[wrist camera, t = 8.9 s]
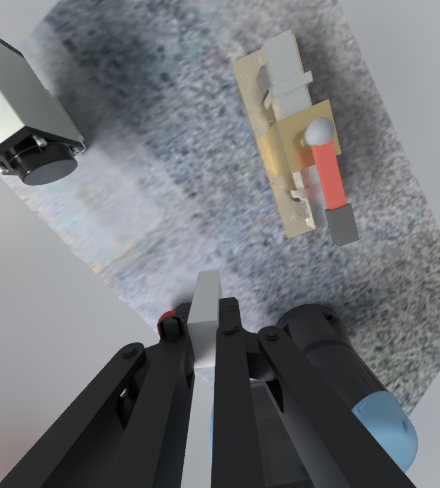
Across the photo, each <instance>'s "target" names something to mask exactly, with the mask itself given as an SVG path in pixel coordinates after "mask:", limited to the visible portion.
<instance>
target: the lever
mask: <svg viewBox="0 0 440 488" xmlns="http://www.w3.org/2000/svg"><path fill="white" fill-rule="evenodd" d="M334 131H335V128H334V124H333V122H332V121H331V120H330V119H329V118H326V117H320V118H317V119H316V120H314V121H313V122H311V123H310V124H309V125H308V126H307V127H306V129H305V131H304V140H305V143H306V144H307V145H308V146H310V147H311V148H312V152H313V156H314V160H315V164H316V167H317V171H318V175H319V179H320V183H321V186H322V190H323V194H324V198H325V202H326V205H327V209H326V210H324V211H325V214H326V218H327V222H328V226H329V229H330V233H331V237H332V241H333V243H334V244H336V245H338V246H343V245H346V244H348V243H351V242H354V241H357V240H359V236H358V232H357V228H356V223H355V219H354V215H353V211H352V206H351V204H348V203H347V201H346V197H345V193H344V189H343V184H342V180H341V176H340V172H339V168H338V163H337V159H336V155H335V151H334V147H333V142H332V137H333V135H334Z"/></svg>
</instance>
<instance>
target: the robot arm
mask: <svg viewBox="0 0 440 488" xmlns="http://www.w3.org/2000/svg"><path fill="white" fill-rule="evenodd" d="M157 326H158V330H159V334H160V338H161V339H160V341H159V343H158V344H156V345H153V346H150V347H147V348H144V345H143V344H142V343H138V342H137V343H131V344H128V345H126V346H124V347H123V348H121V349H120V350H119V351H118V352H117V353H116V354H115V355H114V357H113V358H112V359H111V360H110V361H109V362H108V363H107V364H106V366H105V367H104V368H103V369H102V370H101V371H100V372H99V373H98V374H97V376H96V377H95V378H94V379H93V380H92V381H91V382H90V383H89V384H88V386H87V387H86V388H85V389H84V390H83V391H82V392H81V393H80V394H79V396H78V397H77V398H76V399H75V400H74V401H73V402H72V403H71V404H70V406H69V407H68V408H67V409H66V410H65V411H64V412H63V413H62V414H61V416H60V417H59V418H58V419H57V420H56V421H55V422H54V423H53V424H52V426H51V427H50V428H49V429H48V430H47V431H46V432H45V433H44V435H43V436H42V437H41V438H40V439H39V440H38V441H37V442H36V444H35V445H34V446H33V447H32V448H31V449H30V450H29V451H28V452H27V454H26V455H25V456H24V457H23V458H22V459H21V460H20V461H19V463H17V465H16V466H15V467H14V468H13V469H12V471H10V472H9V473H8V475H7V476H6V477H5V478H4V479H3V480H2V481H1V482H0V488H180V487H181V480H182V472H183V464H184V457H185V449H186V441H187V433H188V426H189V418H190V410H191V403H192V395H193V387H194V379H195V373H194V368H193V367H194V361H195V366H196V368H203V367H212V366H215V383H214V403H213V408H212V414H211V423H210V461H211V465H212V470H211V471H212V472H211V488H416V487H415V485H414V484H413V483H412V482H411V481H410V479H409V478H408V477H407V476H406V475H405V472H406V471H407V470H408V469H409V468H410V466H411V465H412V463H413V461H414V459H415V457H416V453H417V449H418V438H417V434H416V431H415V428H414V426H413V424H412V423H411V421H410V420H409V418H408V417H407V416H406V414H405V413H404V411H403V410H402V409H401V407H400V406H399V404H398V403H397V400H396V399H395V397H394V396H393V395H392V394H391V393H389V392H388V390H387V389H386V388H385V387H384V385H383V384H382V383H381V382H380V381H379V379H378V378H377V377H376V376H375V375H374V373H373V372H372V371H371V370H370V368H369V367H368V366H367V365H366V364H365V362H364V361H363V360H362V359H361V358H360V356H359V355H358V354H357V353H356V352H355V350H354V349H353V347H352V344H351V341H350V338H349V335H348V332H347V329H346V327H345V325H344V323H343V322H342V320H341V319H340V318H339V317H338V316H337V315H336V314H335V313H334V312H333V311H332V310H330V309H328V308H326V307H324V306H320V305H303V306H299V307H296V308H294V309H292V310H290V311H289V312H287V313H286V314H285V315H284V316H282V318H281V319H280V320H279V321H278V323H277V325H276V326H267V327H264V328H262V329H261V330H260V331H259V332H258V334H257V333H251V332H248V331H246V330H245V329H244V328H243V327H242V324H241V318H240V311H239V304H238V300H237V299H236V298H235V297H230V298H223V297H222V291H221V284H220V277H219V271H218V270H210V271H203V272H199V276H198V280H197V284H196V288H195V292H194V296H193V300H192V303H186V304H181V305H180V306H179V307H178V308H177V309H176V312H175V315H172V316H168V317H166V318H163V319H162V320H161V321H159V323H158V324H157ZM250 378H252V379H256V380H251V381H250ZM124 389H125V393H124V394H123V395H122V396H120V395H121V394H122V392H123V391H124Z"/></svg>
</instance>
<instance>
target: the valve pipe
mask: <svg viewBox="0 0 440 488" xmlns="http://www.w3.org/2000/svg"><path fill="white" fill-rule="evenodd" d="M231 69H232V72H233V75H234V78H235V81H236V85H237V88H238V91H239V94H240V97H241V100H242V103H243V106H244V109H245V112H246V115H247V119H248V122H249V125H250V128H251V131H252V134H253V137H254V140H255V143H256V146H257V150H258V153H259V156H260V159H261V162H262V165H263V168H264V171H265V174H266V177H267V180H268V184H269V187H270V190H271V193H272V196H273V199H274V202H275V205H276V208H277V211H278V214H279V218H280V221H281V224H282V227H283V230H284V233H285V236H286V238H288V239H289V238H292V237H294V236H297V235H300V234H302V233H305V232H308V231H311V230H313V229H319V228H322V227H325V226H327V225H328V222H327V218H326V214H325V211H324V210H326V209H327V205H326V202H325V198H324V194H323V190H322V186H321V183H320V179H319V175H318V171H317V167H316V164H315V160H314V156H313V152H312V148H311V147H310V146H308V145H307V144H306V143H305V140H304V131H305V129H306V127H307V126H308V125H309V124H310V123H311V122H313V121H314V120H316V119H317V118H320V117H326V118H329V119H330V120H331V121H332V122H333V124H334V128H335V123H334V119H333V115H332V110H331V106H330V102H329V99H327V100H325V101H323V102H320V103H318V104H316V105H313V106H312V103H311V99H310V95H309V91H308V86H309V85H310V84H311V82H312V81H313V78H312V74H311V70H310V71H308V72H306V73H304V71H303V67H302V63H301V59H300V55H299V51H298V47H297V43H296V39H295V35H294V34H292V33H291V29H290V30H288V31H286V32H283V33H281V34H279V35H277V36H275V37H273V38H271V39H268V40H266V41H264V42H263V44H262V47H261V49H260V50H258V51H255V52H253V53H251V54H249V55H247V56H245V57H243V58H240V59H238V60H236V61H234V62H232V63H231ZM332 142H333V147H334V151H335V155H336V156H337V155H340V154H341V149H340V145H339V141H338V136H337V132H336V128H335V131H334V135H333V137H332Z"/></svg>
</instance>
